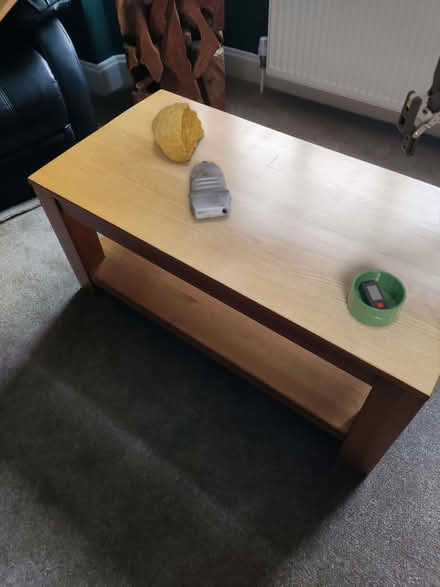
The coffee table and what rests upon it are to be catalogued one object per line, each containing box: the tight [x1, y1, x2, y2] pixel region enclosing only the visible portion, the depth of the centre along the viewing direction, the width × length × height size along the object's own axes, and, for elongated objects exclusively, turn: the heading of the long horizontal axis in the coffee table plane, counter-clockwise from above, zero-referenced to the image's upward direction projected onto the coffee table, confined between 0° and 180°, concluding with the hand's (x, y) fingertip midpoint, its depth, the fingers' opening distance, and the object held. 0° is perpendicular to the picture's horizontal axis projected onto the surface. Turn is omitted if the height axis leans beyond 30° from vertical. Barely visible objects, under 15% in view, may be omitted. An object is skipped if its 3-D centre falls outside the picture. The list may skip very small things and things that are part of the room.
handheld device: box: [188, 160, 232, 220], centre depth 101 cm, size 10×20×5 cm, turn 6°
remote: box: [359, 281, 390, 309], centre depth 80 cm, size 7×3×3 cm, turn 8°
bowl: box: [346, 269, 407, 328], centre depth 79 cm, size 9×9×5 cm
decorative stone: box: [151, 102, 205, 163], centre depth 112 cm, size 13×15×15 cm
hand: (433, 150), depth 71 cm, fingers open, 8 cm apart
